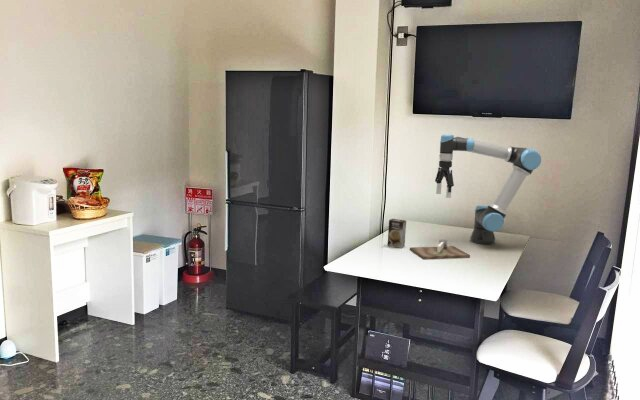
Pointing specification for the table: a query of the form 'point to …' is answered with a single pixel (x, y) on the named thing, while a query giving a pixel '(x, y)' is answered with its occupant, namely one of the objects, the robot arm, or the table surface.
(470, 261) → the table surface
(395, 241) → the coffee box
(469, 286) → the table surface
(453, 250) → the dial board
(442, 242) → the grey-tipped match
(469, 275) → the table surface
